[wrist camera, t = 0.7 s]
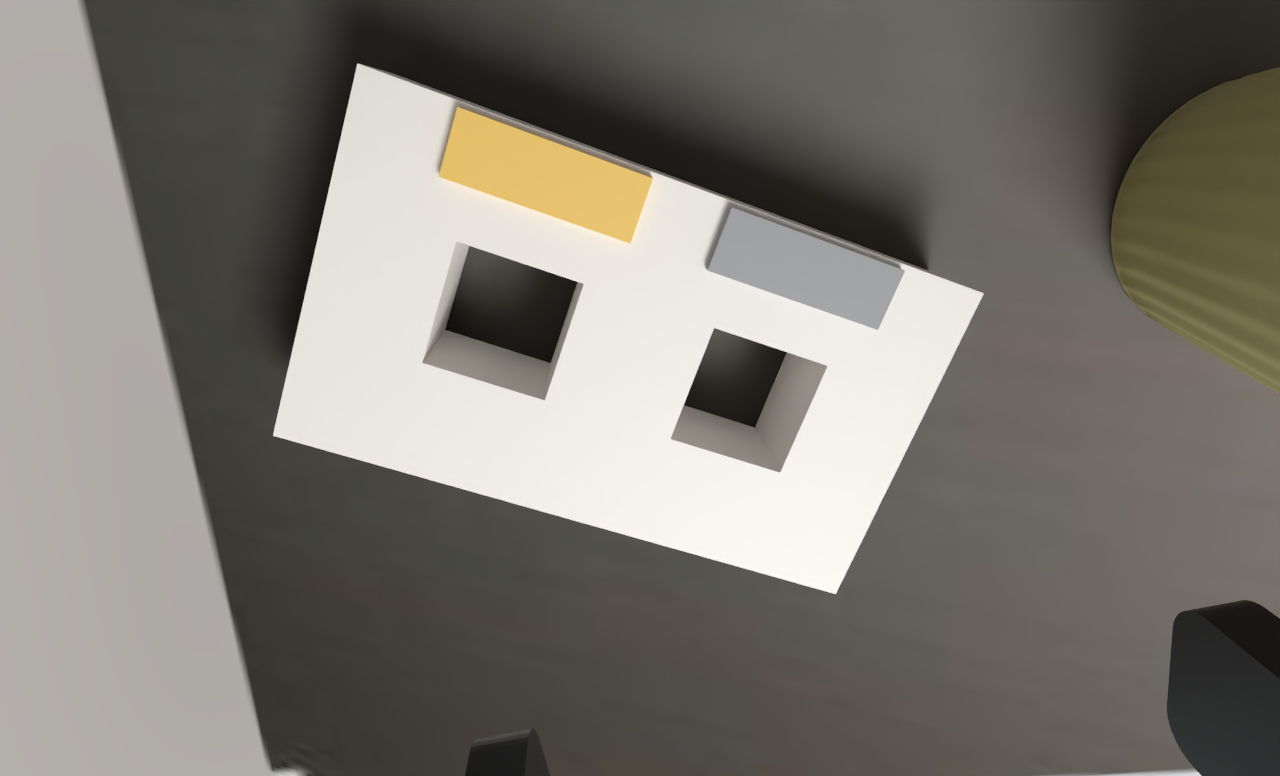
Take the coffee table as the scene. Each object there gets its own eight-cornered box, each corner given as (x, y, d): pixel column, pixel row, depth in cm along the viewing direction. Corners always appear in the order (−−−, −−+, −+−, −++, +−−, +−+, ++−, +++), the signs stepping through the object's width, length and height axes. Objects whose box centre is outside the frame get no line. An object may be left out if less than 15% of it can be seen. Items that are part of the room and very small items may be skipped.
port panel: (393, 73, 30) (354, 62, 25) (928, 270, 34) (988, 295, 29) (316, 392, 34) (268, 439, 29) (804, 536, 38) (838, 599, 33)
